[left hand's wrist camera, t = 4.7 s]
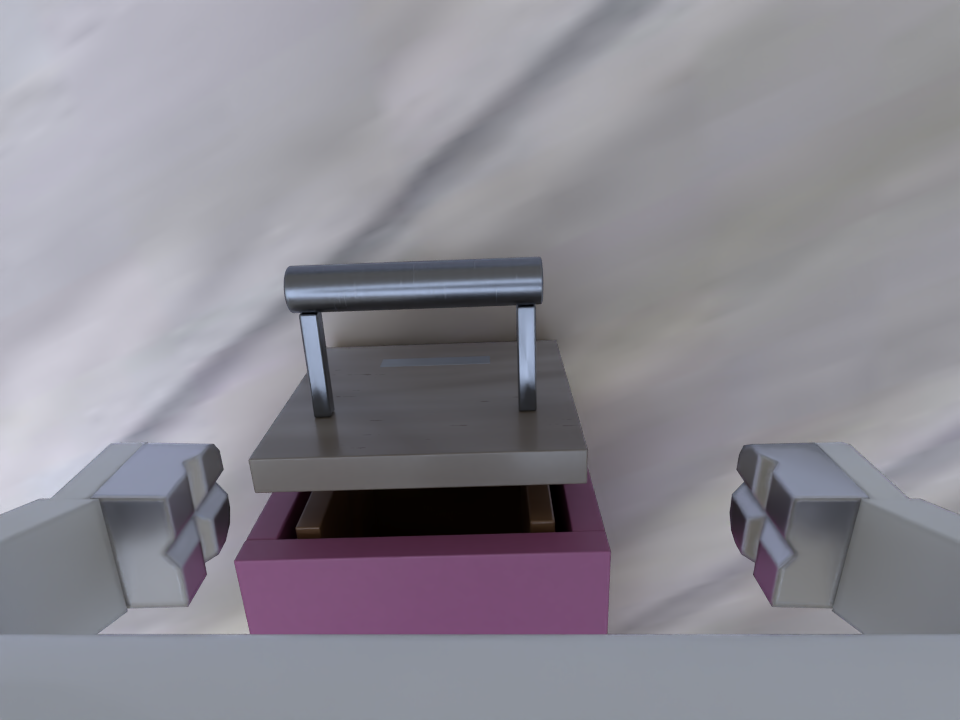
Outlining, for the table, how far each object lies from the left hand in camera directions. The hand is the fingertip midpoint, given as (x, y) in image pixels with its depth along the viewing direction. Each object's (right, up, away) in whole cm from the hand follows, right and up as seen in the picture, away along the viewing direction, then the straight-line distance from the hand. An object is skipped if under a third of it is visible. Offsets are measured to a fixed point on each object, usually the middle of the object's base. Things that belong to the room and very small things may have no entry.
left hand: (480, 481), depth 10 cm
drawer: (-1, -3, +20) cm, 21 cm away
